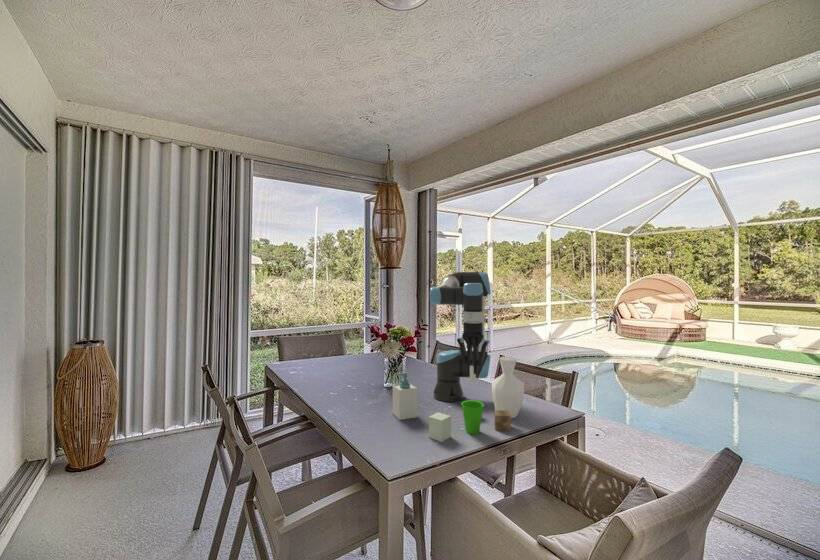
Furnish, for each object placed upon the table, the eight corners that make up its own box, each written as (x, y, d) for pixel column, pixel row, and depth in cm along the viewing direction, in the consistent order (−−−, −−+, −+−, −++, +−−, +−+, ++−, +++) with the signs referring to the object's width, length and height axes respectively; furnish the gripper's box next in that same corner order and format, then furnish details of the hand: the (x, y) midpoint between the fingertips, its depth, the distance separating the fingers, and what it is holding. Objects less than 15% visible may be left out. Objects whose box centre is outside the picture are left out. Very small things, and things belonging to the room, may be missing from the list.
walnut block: (495, 430, 147) (495, 415, 146) (494, 424, 152) (494, 410, 152) (510, 431, 145) (510, 416, 145) (509, 425, 151) (509, 411, 151)
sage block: (428, 437, 140) (428, 416, 140) (438, 432, 144) (438, 412, 144) (441, 442, 136) (441, 420, 136) (450, 436, 140) (450, 415, 140)
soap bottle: (392, 413, 164) (392, 371, 164) (410, 410, 168) (410, 369, 168) (399, 420, 156) (399, 375, 156) (417, 417, 160) (417, 373, 160)
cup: (458, 427, 149) (458, 400, 149) (480, 426, 150) (480, 399, 150) (463, 437, 140) (463, 408, 140) (487, 436, 141) (487, 407, 141)
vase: (506, 423, 153) (506, 363, 153) (484, 412, 166) (484, 357, 166) (531, 417, 160) (531, 360, 160) (508, 407, 172) (508, 354, 172)
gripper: (453, 322, 145) (453, 381, 145) (485, 324, 138) (485, 386, 138) (461, 320, 151) (461, 377, 152) (492, 322, 145) (491, 381, 145)
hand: (472, 381), depth 145 cm, fingers closed
